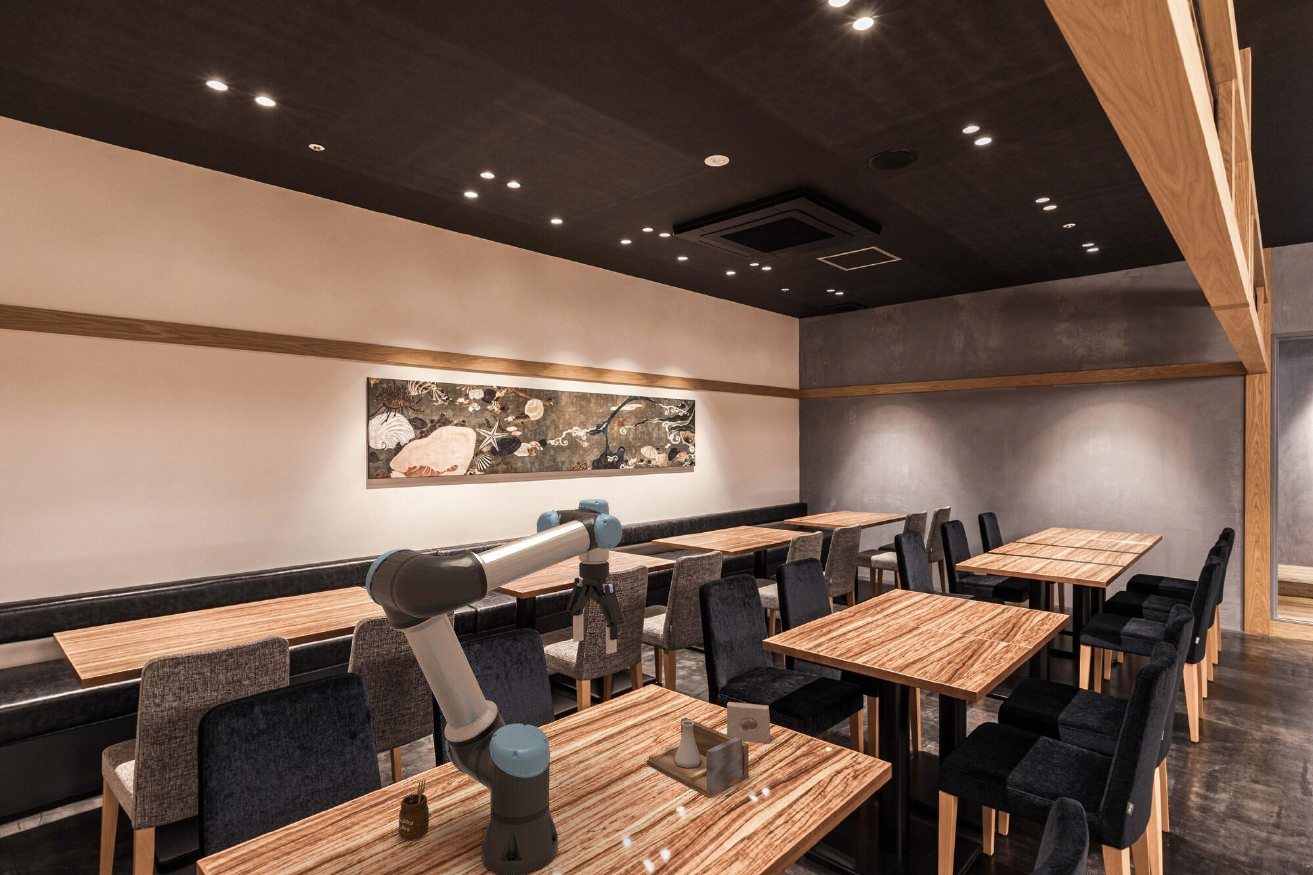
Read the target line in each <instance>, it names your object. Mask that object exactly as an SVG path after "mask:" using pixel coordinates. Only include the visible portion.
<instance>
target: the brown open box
mask: <svg viewBox="0 0 1313 875" xmlns="http://www.w3.org/2000/svg"><path fill="white" fill-rule="evenodd" d="M686 720H689V721H693V722H694V725H693V734H694V739H695V742H696V745H697V748H698V751H699V754H700V757H701V760H702V763H701V764H700V765H699V766H698V767H692V768H685V767H680V766H676V764H675V762H674V759H675V756H676V753H677V750H678V747H679V744H680V742H678V743H677V744H675V745H672V746H669V747H667V748H665V749H663V750H660V751H657V752H655V753H652V754H650V755H648V759H647V760H646V765H647V766H648V767H650V768H652V769H654V770H656V771H658V772H660V773H662V774H663V775H665V776H666V777H667V776H668V777H669V778H671V779H673V780H674V781H677V782H679V783H680V784H682V785H684V786H686V787H688V788H690V789H692V790H694V791H695V792H697V793H700V794H702V795H703V796H705V797H706V798H709V799H712V798H714V797H716V796H717V795H719V794H721V793H722V792H725V791H727V790H728V789H730V788H732V787H734V786H736V785H737V784H739V783H741V782H743V781H745V780H747V779H749V777H750V774H749V772H750V770H749V769H750V768H749V767H750V765H749V762H750V761H749V755H750V754H749V743H747V742H746V741H742V739H741V738H739V737H735V738H733V737H730V736H728V735H727V733H726V734H725V733H724V732H723V733H722V732H720V731H719V730H715V729H713V728H711V727H708V726H706V725H704V724H701V723H699V722H697V721H694V720H692V719H690V718H687V717H684V718H681V719H680V725H681V726H680V730H681V731H680V737H681V738H682V732H683V726H682V722H683V721H686ZM681 738H680V739H681Z"/></svg>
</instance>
